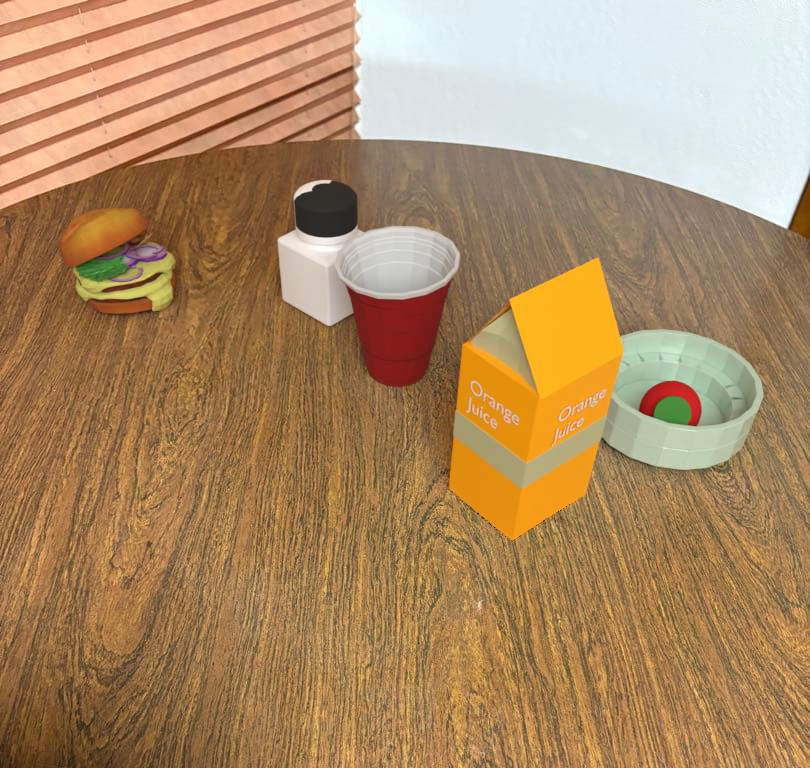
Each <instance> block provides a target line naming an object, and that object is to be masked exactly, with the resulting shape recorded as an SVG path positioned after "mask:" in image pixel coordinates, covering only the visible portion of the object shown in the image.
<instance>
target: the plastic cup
mask: <svg viewBox="0 0 810 768" xmlns="http://www.w3.org/2000/svg"><path fill="white" fill-rule="evenodd" d="M364 232H365V233H363V234H361V235H358V236H356V237H354V238H352V239H350V240H349V241H348V242H347V243H346V244H345V245H344V246H343V247H342V248H341V249H340V250H339V251H338V253H337V257H336V260H335V264H334V265H335V268H336V270H337V272H338V275H339V277H340V279H341V281H342V282H343V283H344V284H345V285H346V287H347V291H348V293H349V296H350V299H351V304H352V308H353V316H354V317H353V318H354V321H355V327H356V330H357V331H356V332H357V335H358V339H359V342H360V344H361V349H362V354H363V359H364V364H365V366H366V369H367V371H368V374H369V376H370V377H371V378H372V379H373V380H375V381H376V382H377V383H380V384H382V383H383V384H382V385H385V386H387V385H389V386H388V387H398V388H400V387H405V386H411V385H413V384H416V383H417V382H419V381H421V380H422V379H423V378H424V376H425V375H426V374H427V373H426V372H427V370H429V365H430V362H431V356H432V354H433V353H432V352H433V349H434V348H435V344H436V340H437V336H438V332H439V328H440V323H441V320H442V316H443V312H444V307H445V303H446V299H447V298H448V295H449V291H450V288H451V285H452V281H453V280H454V279H453V278H454V277H455V276H456V275H457V273H458V270H459V266H460V260H461V253H460V251H459V249H458V248H457V246H456V245H455V243H454V241H453V240H451V239H450V238H448V237H446V236H445V235H443V234H442V233H441V232H439V231H436V230H432V229H428V228H424V227H421V226H415V225H412V226H411V225H409V226H408V225H390V226H385V227H380V228H374V229H369V230H367V231H364Z"/></svg>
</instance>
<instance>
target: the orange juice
mask: <svg viewBox="0 0 810 768" xmlns="http://www.w3.org/2000/svg"><path fill="white" fill-rule="evenodd" d="M508 301H509V302H508V303H507V304H506V305H505V306H504V307H503V308H502V309H501V310H499V312H498V313H497V314H496V315H495V316H493V317H492V318H491V319H490V320H489V321H488V322H487V323H486V324H485V325H484V326H483V327H481V328H480V329H479V330H478V331H477V332H476V333H475V334H474V335H473V336H472V337H471V338H469V339H468V340H467V341H466V342H464V343H462V346H461V356H460V367H459V376H458V386H457V387H458V388H457V398H456V407H455V408H456V409H455V411H454V421H453V431H452V436H453V437H452V438H453V440H452V449H451V460H450V461H451V462H450V469H449V470H450V471H449V481H448V490H449V489H450V490H451V491H453V493H455V494H456V495H457V496H459V497H460V498H461V499H462V500H463V501H464V502H466V503H467V504H468V505H470V506H471V507H472V508H473V509H474V510H475V511H477V512H478V513H479V514H480V515H481V516H483V517H484V518H485V519H486V520H488V522H490V523H491V524H492V525H494V527H496V528H497V529H498V530H500V531H501V532H502V533H504V535H506V536H507V537H508V538H510V540H514V539H515V538H517V537H519V536H520V535H523V533H525V532H527V531H528V530H530V529H531V528H533V527H534V526H536V525H537V524H539V523H540V522H542V521H543V520H545V519H546V518H549V517H550V516H552V515H553V514H555V513H556V512H558V511H559V512H558V513H560V512H561V511H563V510H564V509H566V508H567V507H569V506H570V505H572V504H573V503H575V502H577V501H578V500H580V499H581V498H583V497H584V496H586V495H587V490H588V487H589V484H590V481H591V480H590V479H591V475H592V472H593V468H594V464H595V460H596V457H597V453H598V450H599V446H600V441H601V440H602V433H603V430H604V426H605V422H606V418H607V412H608V408H609V404H610V400H611V397H612V393H613V389H614V385H615V381H616V378H617V374H618V370H619V366H620V363H621V359H622V355H623V353H624V349H623V346H622V342H621V338H620V336H621V334H620V331H619V328H618V323H617V320H616V316H615V313H614V309H613V305H612V301H611V297H610V294H609V291H608V287H607V283H606V280H605V276H604V272H603V268H602V265H601V261H600V257H599V256H598V257H596V258H593V259H591V260H588V261H587V262H585V263H583V264H581V265H579V266H576V267H574V268H573V269H570V270H568V271H566V272H564V273H562V274H560V275H558V276H555V277H553V278H551V279H549V280H547V281H545V282H542V283H541V284H538V285H537V286H534V287H532V288H530V289H528V290H526V291H524V292H522V293H520V294H517V295H516V296H514V297H511V298H509V299H508ZM450 493H451V494H452V495H454V494H453V493H452V492H450ZM456 498H457V499H458V500H460V499H459V498H458V497H456ZM577 499H578V500H577ZM574 501H575V502H574ZM464 502H462V503H463V504H464V505H466V504H465V503H464ZM569 504H570V505H569ZM566 506H567V507H566ZM468 508H469V509H470V510H472V509H471V508H470V507H468ZM563 508H564V509H563ZM561 509H562V510H561ZM560 510H561V511H560ZM474 513H475V514H476V515H478V514H477V513H476V512H474ZM558 513H556V514H555V515H557V514H558ZM555 515H553V516H555ZM481 516H479V517H480V518H481V519H482V520H484V519H483V518H482V517H481ZM553 516H552V517H553ZM552 517H550V518H549V519H551V518H552ZM546 521H547V520H545V521H544V522H546ZM485 522H486V523H487V524H489V523H488V522H487V521H485ZM544 522H542V523H544ZM542 523H541V524H542ZM541 524H539V525H538V526H540V525H541ZM538 526H536V527H535V528H537V527H538ZM491 527H492V528H493V529H495V528H494V527H493V526H491ZM535 528H533V529H532V530H534V529H535ZM532 530H530V531H529V532H531V531H532ZM497 532H498V533H499V534H501V533H500V532H499V531H497ZM529 532H527V533H526V534H528V533H529ZM526 534H524V535H523V536H525V535H526ZM503 537H504V538H505V539H507V538H506V537H505V536H503ZM520 538H521V537H519V538H518V539H520ZM518 539H516V540H515V541H517V540H518ZM515 541H513V542H511V541H509V542H510V543H512V544H513V543H514V542H515Z"/></svg>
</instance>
